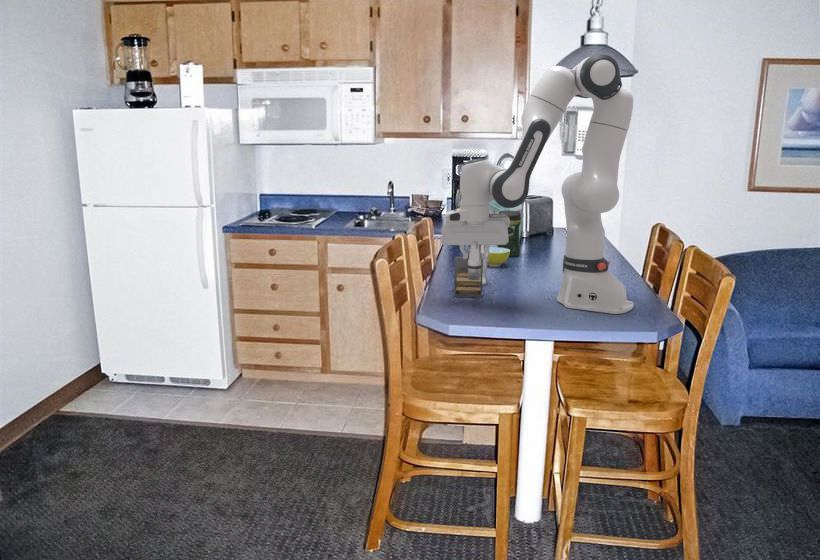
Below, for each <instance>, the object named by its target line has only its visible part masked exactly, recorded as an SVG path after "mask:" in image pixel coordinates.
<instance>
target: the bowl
mask: <svg viewBox="0 0 820 560" xmlns="http://www.w3.org/2000/svg"><path fill="white" fill-rule="evenodd" d="M509 254H510V250H509V249H506V248H498V247H497V246H496V247H492V246H490V252H489V260H488V266H489V267H493V268H499V267H501V266H502V264H503V263H505V262H506V261H508V259H509Z"/></svg>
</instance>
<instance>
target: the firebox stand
mask: <svg viewBox="0 0 820 560" xmlns="http://www.w3.org/2000/svg"><path fill="white" fill-rule="evenodd" d="M482 277H483V260H482V259H481V280H476V281H474V280H468V260H463V256H455V257H454V280H453V281H454V283H453V284H454V286H453V287H454V289H453V297H454V298H473V297H478V298H477V299H483V296H484V291H483V285H482Z"/></svg>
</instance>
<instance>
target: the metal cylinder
mask: <svg viewBox="0 0 820 560" xmlns="http://www.w3.org/2000/svg"><path fill="white" fill-rule="evenodd" d="M467 253H468V280H474V281H476V280H481V245H478V241H472V244H471V245H467Z"/></svg>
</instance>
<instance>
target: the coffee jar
mask: <svg viewBox="0 0 820 560" xmlns="http://www.w3.org/2000/svg"><path fill="white" fill-rule="evenodd" d="M499 214H505V215H507V216H508V217H509V219H510V225H509V227H508V228H507V229H508V239H509V241H508V243H507V244H506V245H496V247H498V248H506V249H509V250H510V254H509V257H510V258H512V257H519V256H520V254H521V246H520V241H519V226H520V223H521V214H520V212H519V211H500V212H499ZM505 217H506V216H505ZM509 257H508V258H509Z"/></svg>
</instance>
